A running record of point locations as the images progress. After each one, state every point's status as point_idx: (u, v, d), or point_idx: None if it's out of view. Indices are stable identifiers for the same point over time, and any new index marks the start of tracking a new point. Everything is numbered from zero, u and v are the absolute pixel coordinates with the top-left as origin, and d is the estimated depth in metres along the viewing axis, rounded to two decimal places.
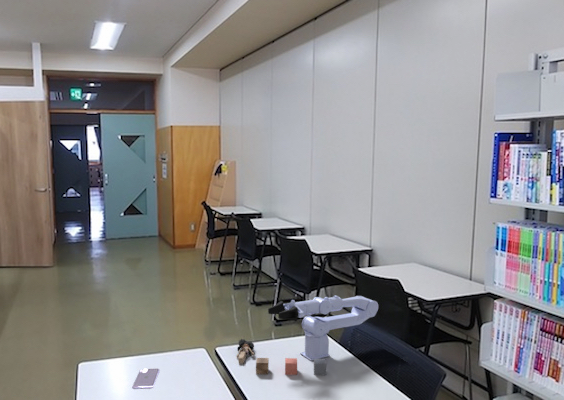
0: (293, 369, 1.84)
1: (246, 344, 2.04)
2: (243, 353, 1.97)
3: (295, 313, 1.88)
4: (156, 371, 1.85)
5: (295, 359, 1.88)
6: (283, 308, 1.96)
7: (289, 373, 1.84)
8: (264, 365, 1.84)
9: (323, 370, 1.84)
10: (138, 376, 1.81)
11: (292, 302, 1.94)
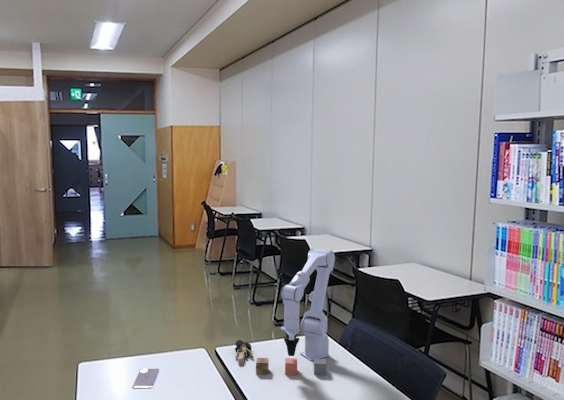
0: (293, 369, 1.84)
1: (243, 345, 2.03)
2: (242, 354, 1.97)
3: None
4: (156, 371, 1.85)
5: (295, 359, 1.88)
6: None
7: (289, 373, 1.84)
8: (264, 365, 1.84)
9: (323, 370, 1.84)
10: (138, 376, 1.81)
11: None
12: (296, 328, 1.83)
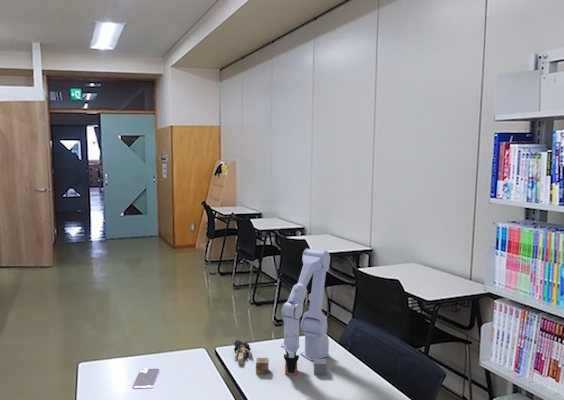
0: None
1: (242, 345, 2.03)
2: (241, 354, 1.96)
3: None
4: (156, 371, 1.85)
5: None
6: None
7: (289, 373, 1.84)
8: (264, 365, 1.84)
9: (323, 370, 1.84)
10: (138, 376, 1.81)
11: None
12: (296, 345, 1.83)
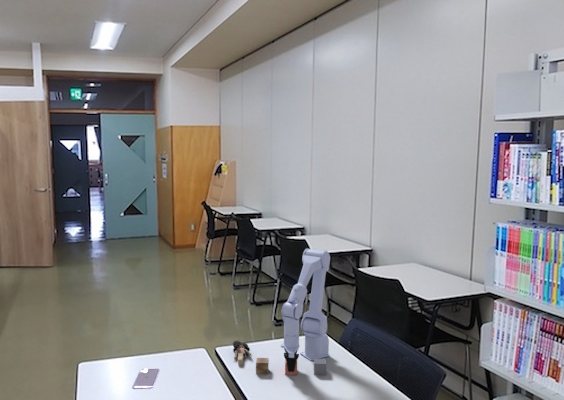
0: None
1: (241, 345, 2.03)
2: (241, 354, 1.96)
3: None
4: (156, 371, 1.85)
5: None
6: None
7: (289, 373, 1.84)
8: (264, 365, 1.84)
9: (323, 370, 1.84)
10: (138, 376, 1.81)
11: None
12: (296, 345, 1.83)
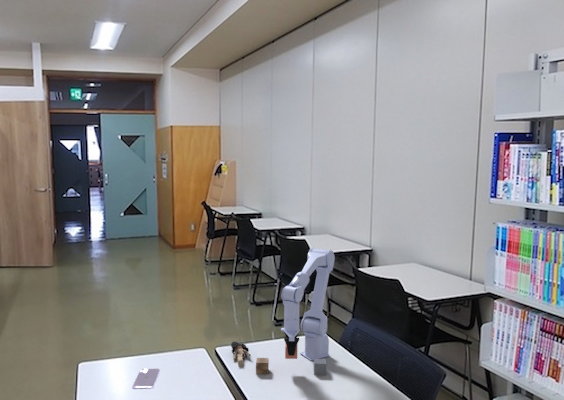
0: None
1: (240, 346, 2.02)
2: (240, 355, 1.95)
3: None
4: (156, 371, 1.85)
5: None
6: None
7: (289, 357, 1.84)
8: (264, 365, 1.84)
9: (323, 370, 1.84)
10: (138, 376, 1.81)
11: None
12: (296, 329, 1.83)
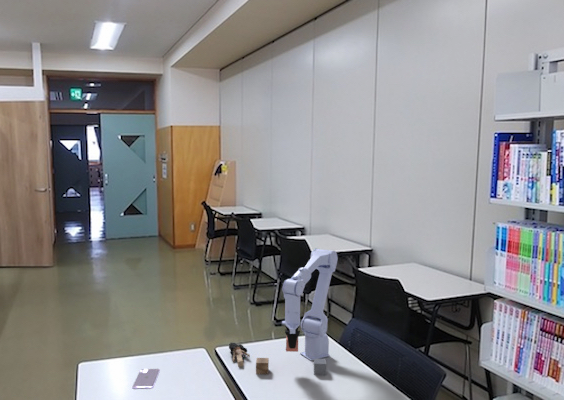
0: None
1: (238, 347, 2.01)
2: (240, 356, 1.94)
3: None
4: (156, 371, 1.85)
5: None
6: None
7: (290, 350, 1.85)
8: (264, 365, 1.84)
9: (323, 370, 1.84)
10: (138, 376, 1.81)
11: None
12: (297, 322, 1.84)
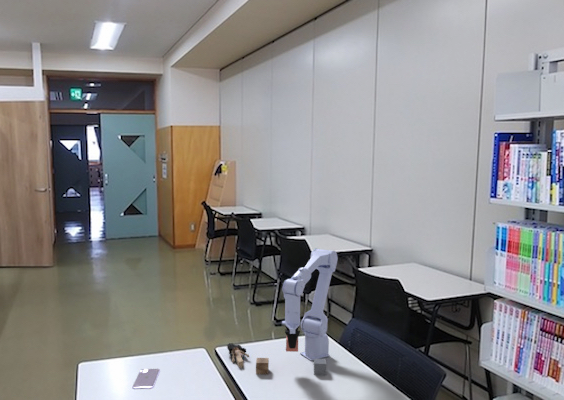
0: None
1: (236, 347, 2.00)
2: (239, 356, 1.94)
3: None
4: (156, 371, 1.85)
5: None
6: None
7: (290, 350, 1.85)
8: (264, 365, 1.84)
9: (323, 370, 1.84)
10: (138, 376, 1.80)
11: None
12: (297, 322, 1.84)
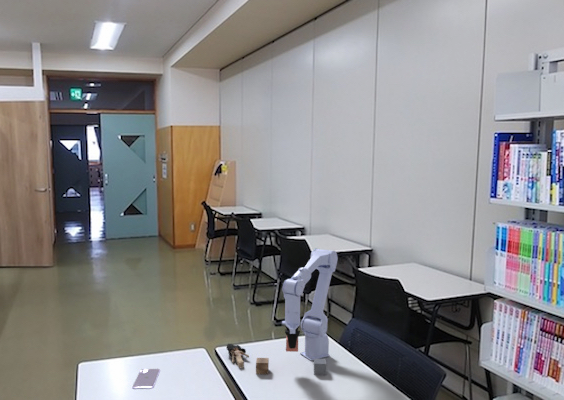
0: None
1: None
2: (239, 357, 1.94)
3: None
4: (156, 371, 1.85)
5: None
6: None
7: (290, 350, 1.85)
8: (264, 365, 1.84)
9: (323, 370, 1.84)
10: (138, 376, 1.80)
11: None
12: (297, 322, 1.84)
